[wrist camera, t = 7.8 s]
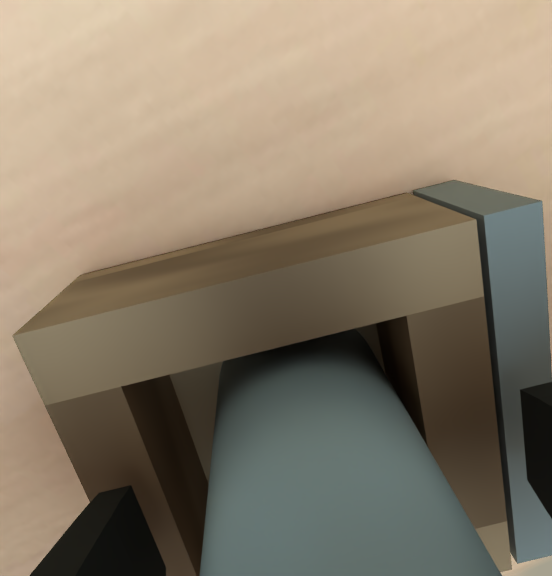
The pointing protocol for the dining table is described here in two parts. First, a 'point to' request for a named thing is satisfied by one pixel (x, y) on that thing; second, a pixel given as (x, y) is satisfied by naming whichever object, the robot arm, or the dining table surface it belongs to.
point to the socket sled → (264, 336)
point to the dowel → (327, 473)
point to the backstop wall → (511, 336)
